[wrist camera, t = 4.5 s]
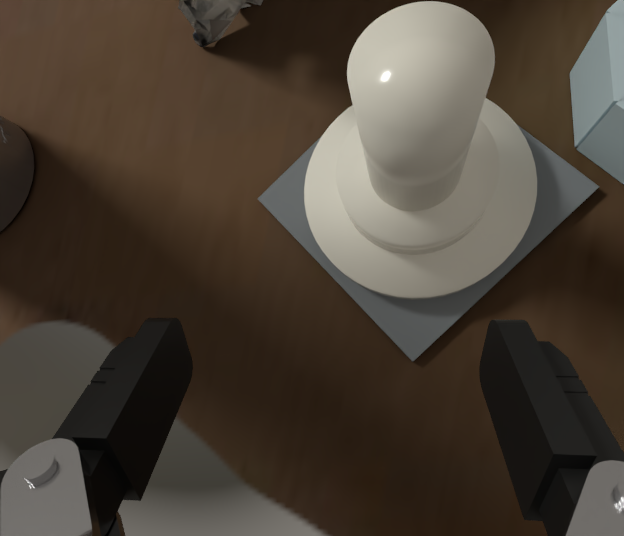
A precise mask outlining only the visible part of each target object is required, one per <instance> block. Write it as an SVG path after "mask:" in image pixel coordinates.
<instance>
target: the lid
mask: <svg viewBox="0 0 624 536" xmlns="http://www.w3.org/2000/svg"><path fill="white" fill-rule="evenodd" d="M494 65H495V53H494V46H493V43H492V39H491V37H490V35H489V33H488V31H487V30H486V28H485V27H484V25H483V24H482V23H481V22H480V21H479V20H478V19H477V18H476V17H475V16H474V15H472V14H471V13H469V12H468V11H466V10H464V9H463V8H460V7H458V6H455V5H452V4H448V3H444V2H437V1H423V2H415V3H410V4H406V5H403V6H400V7H397V8H395V9H392V10H390V11H389V12H387V13H385V14H383V15H382V16H380V17H379V18H377V19H376V20H375V21H374V22H372V23H371V24H370V25H369V26H368V27H367V28H366V29H365V30H364V31H363V32H362V34H361V35H360V37H359V38H358V39H357V41H356V43H355V45H354V46H353V49H352V51H351V54H350V57H349V61H348V67H347V81H348V86H349V91H350V95H351V99H352V104H353V105H352V106H351V107H349V108H348V109H347V110H345V111H344V112H343V113H342V114H341V115H340V116H338V117H337V118H336V120H335V121H334V122H333V123H332V124H331V125H330V126H329V127H328V129H327V130H326V131H325V133H324V134H323V135H322V137H321V138H320V140H319V142H318V144H317V146H316V147H315V149H314V151H313V154H312V156H311V159H310V161H309V165H308V169H307V172H306V177H305V186H304V203H305V210H306V216H307V219H308V223H309V226H310V229H311V231H312V233H313V236H314V238H315V240H316V242H317V243H318V245H319V246H320V248H321V250H322V251H323V253H324V254H325V255H326V256H327V257H328V259H329V260H330V261H331V262H332V263H333V264H334V265H335V267H336V268H338V269H339V270H340V271H341V272H342V273H343V274H344V275H345V276H346V277H348V278H349V279H351V280H352V281H354V282H355V283H357V284H358V285H360V286H362V287H364V288H366V289H368V290H370V291H373V292H376V293H378V294H381V295H384V296H389V297H394V298H399V299H410V300H418V299H431V298H437V297H443V296H446V295H450V294H453V293H456V292H459V291H461V290H463V289H466V288H468V287H470V286H472V285H474V284H475V283H477V282H479V281H480V280H482V279H484V278H485V277H486V276H488V275H489V274H490V273H491V272H492V271H494V270H495V269H496V268H497V267H498V266H500V265H501V264H502V263H503V262H504V261H505V260H506V259H507V257H508V256H509V255H510V254H511V253H512V252H513V251H514V250H515V248H516V247H517V245H518V244H519V242H520V241H521V240H522V238H523V236H524V234H525V232H526V230H527V228H528V226H529V224H530V221H531V218H532V215H533V212H534V209H535V203H536V197H537V174H536V166H535V162H534V158H533V155H532V151H531V149H530V147H529V145H528V143H527V140H526V138H525V136H524V135H523V133H522V132H521V130H520V129H519V127H518V126H517V124H516V123H515V122H514V121H513V120H512V119H511V118H510V116H509V115H508V114H507V113H505V112H504V111H503V110H502V109H501V108H500V107H498V106H497V105H496V104H494V103H493V102H491V101H490V100H488V99H487V98H485V97H486V94H487V91H488V88H489V84H490V81H491V78H492V75H493V70H494Z"/></svg>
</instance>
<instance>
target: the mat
mask: <svg viewBox="0 0 624 536" xmlns="http://www.w3.org/2000/svg"><path fill="white" fill-rule="evenodd" d="M517 126H518V125H517ZM518 127H519V129H520V130H521V132H522V133H523V135H524V136H525V138H526V140H527V143H528V145H529V147H530V149H531V151H532V155H533V158H534V162H535V166H536V174H537V197H536V203H535V209H534V212H533V215H532V218H531V221H530V224H529V226H528V228H527V230H526V232H525V234H524V236H523V238H522V240H521V241H520V242H519V244H518V245H517V247H516V248H515V250H514V251H513V252H512V253H511V254H510V255H509V256H508V257H507V259H506V260H505V261H504V262H503V263H502V264H501V265H500V266H498V267H497V268H496V269H495V270H494V271H492V272H491V273H490V274H489V275H488V276H486V277H485V278H484V279H482V280H480V281H479V282H477V283H475V284H474V285H472V286H470V287H468V288H466V289H463V290H461V291H459V292H456V293H453V294H450V295H446V296H443V297H437V298H431V299H418V300H410V299H399V298H394V297H389V296H384V295H381V294H378V293H376V292H373V291H370V290H368V289H366V288H364V287H362V286H360V285H358V284H357V283H355V282H354V281H352V280H351V279H349V278H348V277H346V276H345V275H344V274H343V273H342V272H341V271H340V270H339V269H338V268H336V267H335V265H334V264H333V263H332V262H331V261H330V260H329V259H328V257H327V256H326V255H325V254H324V253H323V251H322V250H321V248H320V246H319V245H318V243H317V242H316V240H315V238H314V236H313V233H312V231H311V229H310V226H309V223H308V219H307V216H306V210H305V203H304V186H305V177H306V172H307V169H308V165H309V161H310V159H311V156H312V154H313V151H314V149H315V147H316V146H317V144H318V142H319V140H320V138H321V137H322V136H321V137H320V138H319V139H318V140H317V141H316V142H315V143H314V144H313V145H312V146H311V147H310V148H309V149H308V150H307V151H306V152H305V153H304V154H303V155H302V156H301V157H300V158H299V159H298V160H297V161H296V162H295V163H294V164H293V165H292V166H291V167H290V168H289V169H288V170H286V171H285V172H284V173H283V174H282V175H281V176H280V177H279V178H278V179H277V180H276V181H275V182H274V183H273V184H272V185H271V186H270V187H269V188H268V189H267V190H266V191H265V192H264V193H263V194H262V195H261V196H260V197H259V198H258V200H259V201H260V202H261V203H262V204H263V205H264V206H265V207H266V208H267V209H268V210H269V211H270V212H271V213H272V214H273V215H274V216H275V218H276V219H277V220H278V221H279V222H280V223H281V224H282V225H283V226H284V227H285V228H286V229H287V230H288V231H289V232H290V233H291V234H292V235H293V236H294V237H295V239H296V240H297V241H298V242H299V243H300V244H301V245H302V246H303V247H304V248H305V249H306V250H307V251H308V252H309V253H310V254H311V255H312V256H313V257H314V259H315V260H316V261H317V262H318V263H319V264H320V265H321V266H322V267H323V268H324V269H325V270H326V271H327V272H328V273H329V274H330V275H331V276H332V277H333V278H334V280H335V281H336V282H337V283H338V284H339V285H340V286H341V287H342V288H343V289H344V290H345V291H346V292H347V293H348V294H349V295H350V296H351V297H352V298H353V299H354V301H355V302H356V303H357V304H358V305H359V306H360V307H361V308H362V309H363V310H364V311H365V312H366V313H367V314H368V315H369V316H370V317H371V318H372V319H373V320H374V322H375V323H376V324H377V325H378V326H379V327H380V328H381V329H382V330H383V331H384V332H385V333H386V334H387V335H388V336H389V337H390V338H391V339H392V340H393V341H394V343H395V344H396V345H397V346H398V347H399V348H400V349H401V350H402V351H403V352H404V353H405V354H406V355H407V356H408V357H409V358H410V359H411V360H412V361H414V360H415V359H416V358H417V357H419V356H420V355H421V354H422V353H423V352H424V351H425V350H426V349H427V348H428V347H429V346H430V345H431V344H432V343H433V342H434V341H436V340H437V339H438V338H439V337H440V336H441V335H442V334H443V333H444V332H445V331H446V330H447V329H448V328H449V327H450V326H452V325H453V324H454V323H455V322H456V321H457V320H458V319H459V318H460V317H461V316H462V315H463V314H464V313H465V312H466V311H468V310H469V309H470V308H471V307H472V306H473V305H474V304H475V303H476V302H477V301H478V300H479V299H480V298H481V297H482V296H484V295H485V294H486V293H487V292H488V291H489V290H490V289H491V288H492V287H493V286H494V285H495V284H496V283H497V282H498V281H499V280H501V279H502V278H503V277H504V276H505V275H506V274H507V273H508V272H509V271H510V270H511V269H512V268H513V267H514V266H515V265H517V264H518V263H519V262H520V261H521V260H522V259H523V258H524V257H525V256H526V255H527V254H528V253H529V252H530V251H531V250H533V249H534V248H535V247H536V246H537V245H538V244H539V243H540V242H541V241H542V240H543V239H544V238H545V237H546V236H547V235H549V234H550V233H551V232H552V231H553V230H554V229H555V228H556V227H557V226H558V225H559V224H560V223H561V222H562V221H563V220H564V219H566V218H567V217H568V216H569V215H570V214H571V213H572V212H573V211H574V210H575V209H576V208H577V207H578V206H579V205H580V204H582V203H583V202H584V201H585V200H586V199H587V198H588V197H589V196H590V195H591V194H592V193H593V192H594V191H595V190H596V189H598V188H599V186H598V185H596V184H595V183H594V182H592V181H591V180H590V179H588V178H587V177H586V176H584V175H583V174H582V173H580V172H579V171H578V170H577V169H575V168H574V167H573V166H571V165H570V164H569V163H567V162H566V161H565V160H563V159H562V158H561V157H559V156H558V155H557V154H555V153H554V152H553V151H551V150H550V149H549V148H547V147H546V146H545V145H543V144H542V143H541V142H539V141H538V140H537V139H535V138H534V137H533V136H531V135H530V134H529V133H527V132H526V131H525V130H523V129H522V128H521V127H520V126H518Z"/></svg>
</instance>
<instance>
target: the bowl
mask: <svg viewBox="0 0 624 536" xmlns="http://www.w3.org/2000/svg"><path fill="white" fill-rule="evenodd" d="M570 85H571V99H572V113H573V127H574V141H575V147H578V148H577V149H576V150H578V151H579V152H581V153H582V154H583V155H585V156H586V157H587V158H589V159H590V160H591V161H593V162H594V163H595V164H597V165H598V166H599V167H601V168H602V169H604V170H605V171H606V172H608V173H609V174H610V175H612V176H613V177H614V178H616V179H617V180H618V181H620V182H621V183H623V184H624V0H617V1H616V2H615V3H614V4H613V5H612V6H611V7H610V8H609V9H608V10H607V11H606V13H605V15H604V16H603V18H602V20H601V21H600V23H599V25H598V26H597V28H596V30H595V31H594V33H593V35H592V37H591V38H590V40H589V42H588V43H587V45H586V47H585V48H584V50H583V52H582V53H581V55H580V57H579V58H578V60H577V62H576V63H575V65H574V67H573V68H572V70H571V72H570Z"/></svg>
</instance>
